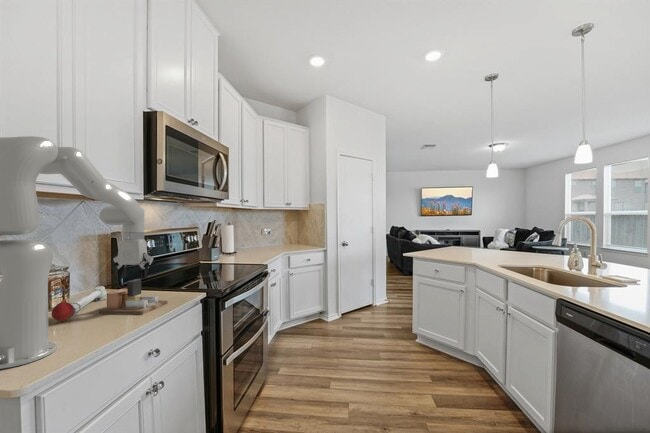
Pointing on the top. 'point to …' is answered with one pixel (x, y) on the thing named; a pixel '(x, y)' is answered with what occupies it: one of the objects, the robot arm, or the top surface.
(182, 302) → the top surface
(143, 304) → the guide sleeve
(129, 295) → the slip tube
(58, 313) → the onion
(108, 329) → the top surface
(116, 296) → the socket block
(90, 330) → the top surface
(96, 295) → the white rod
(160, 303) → the base board
